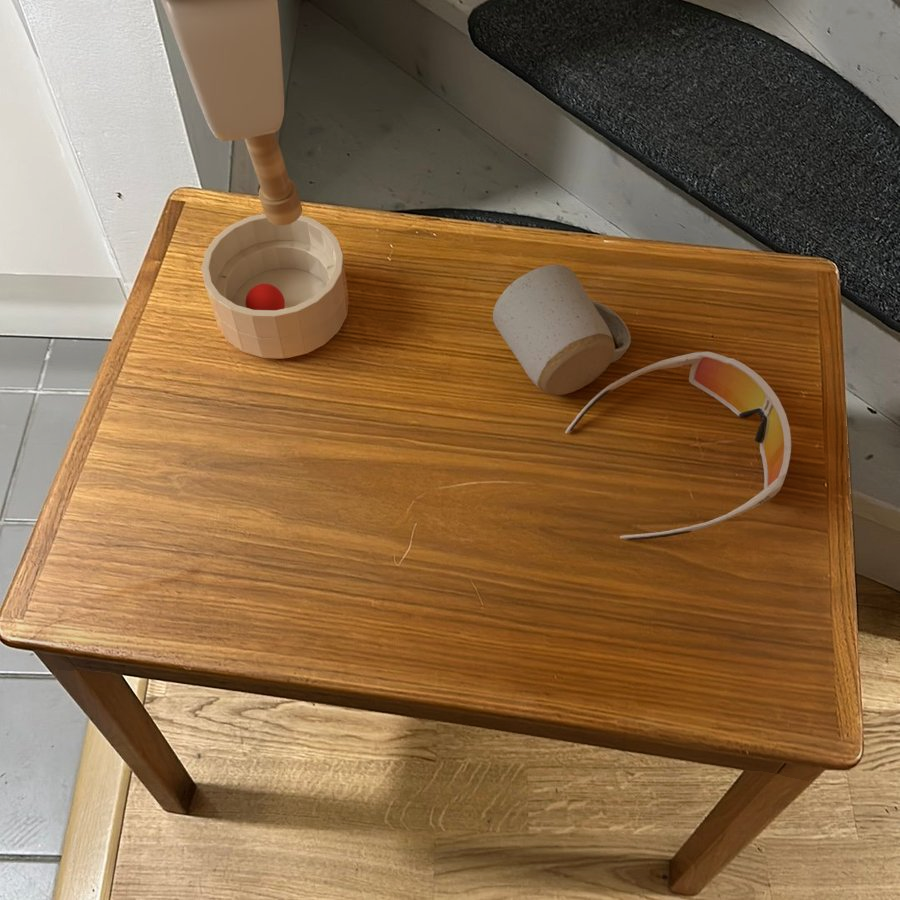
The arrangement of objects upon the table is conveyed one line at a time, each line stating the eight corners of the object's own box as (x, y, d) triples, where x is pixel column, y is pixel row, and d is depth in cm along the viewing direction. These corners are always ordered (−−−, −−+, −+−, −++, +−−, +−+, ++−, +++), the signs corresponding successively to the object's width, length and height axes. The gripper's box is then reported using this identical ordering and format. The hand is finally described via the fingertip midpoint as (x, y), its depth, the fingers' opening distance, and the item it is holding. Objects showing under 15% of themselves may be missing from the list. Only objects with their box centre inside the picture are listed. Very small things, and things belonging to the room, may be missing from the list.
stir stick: (258, 219, 64) (159, -64, 47) (277, 194, 65) (188, -91, 48) (290, 230, 64) (201, -54, 46) (309, 204, 65) (229, -82, 47)
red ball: (271, 327, 79) (241, 326, 76) (264, 290, 79) (234, 288, 76) (295, 318, 77) (265, 316, 74) (289, 280, 77) (259, 278, 74)
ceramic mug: (535, 414, 74) (547, 354, 67) (487, 341, 77) (494, 278, 71) (647, 368, 76) (668, 307, 70) (595, 300, 80) (611, 236, 74)
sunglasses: (813, 500, 70) (829, 469, 65) (631, 574, 69) (634, 548, 64) (721, 359, 77) (729, 323, 72) (554, 425, 76) (552, 392, 71)
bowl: (229, 376, 75) (214, 329, 70) (207, 277, 81) (192, 227, 76) (362, 346, 77) (357, 298, 72) (332, 251, 83) (325, 200, 78)
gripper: (95, -231, 49) (158, 12, 61) (143, -17, 39) (208, 226, 50) (213, -244, 50) (253, -3, 62) (291, -39, 40) (321, 204, 52)
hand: (234, 102), depth 56 cm, fingers closed on stir stick, 2 cm apart
